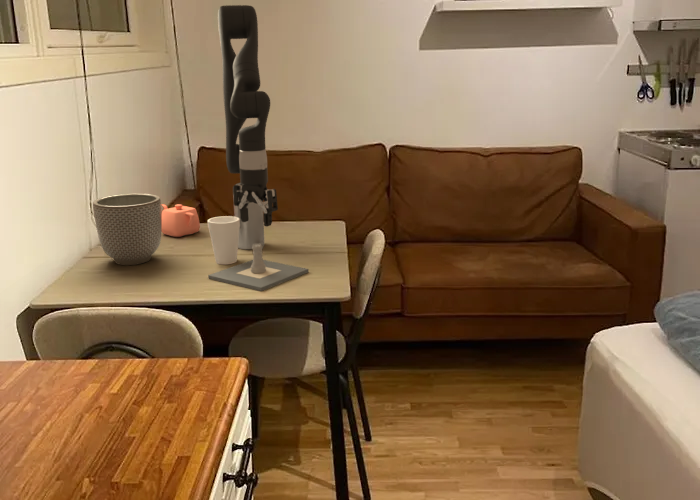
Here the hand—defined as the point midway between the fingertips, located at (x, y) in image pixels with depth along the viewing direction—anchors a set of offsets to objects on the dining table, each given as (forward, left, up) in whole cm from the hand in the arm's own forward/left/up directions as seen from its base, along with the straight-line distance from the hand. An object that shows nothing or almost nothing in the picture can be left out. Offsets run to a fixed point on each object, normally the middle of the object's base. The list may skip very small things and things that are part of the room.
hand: (256, 223), depth 204 cm
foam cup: (-18, +5, -15) cm, 24 cm away
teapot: (-57, +21, -15) cm, 63 cm away
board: (0, 0, -15) cm, 15 cm away
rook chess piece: (0, 0, -14) cm, 14 cm away
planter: (-43, -10, -15) cm, 47 cm away
